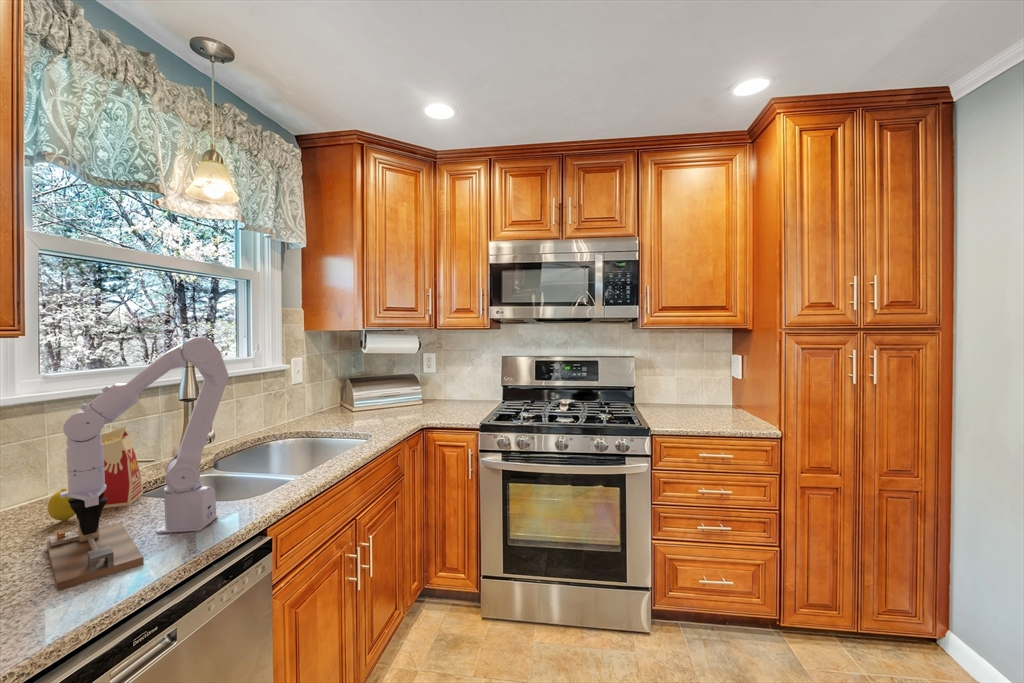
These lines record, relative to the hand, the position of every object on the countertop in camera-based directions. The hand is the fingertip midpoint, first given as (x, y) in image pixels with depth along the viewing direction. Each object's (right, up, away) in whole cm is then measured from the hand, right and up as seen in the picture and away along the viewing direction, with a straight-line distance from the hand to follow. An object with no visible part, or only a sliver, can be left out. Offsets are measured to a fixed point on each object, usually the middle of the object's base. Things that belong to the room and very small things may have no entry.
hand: (88, 531), depth 97 cm
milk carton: (-16, -3, +25) cm, 29 cm away
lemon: (-17, -3, +13) cm, 22 cm away
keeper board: (+5, -3, -4) cm, 7 cm away
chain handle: (+2, -2, -4) cm, 5 cm away
